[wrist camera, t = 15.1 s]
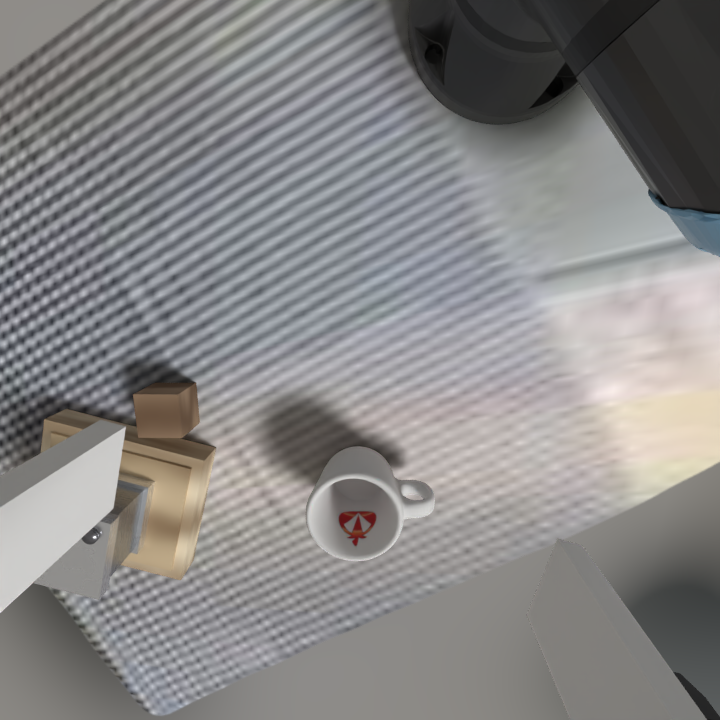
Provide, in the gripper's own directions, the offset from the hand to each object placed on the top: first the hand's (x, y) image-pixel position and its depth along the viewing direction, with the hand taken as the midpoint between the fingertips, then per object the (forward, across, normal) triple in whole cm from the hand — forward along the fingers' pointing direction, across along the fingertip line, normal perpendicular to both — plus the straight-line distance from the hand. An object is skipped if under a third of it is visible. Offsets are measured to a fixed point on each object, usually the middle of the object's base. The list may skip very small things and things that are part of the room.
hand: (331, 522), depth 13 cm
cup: (+29, +4, -12) cm, 32 cm away
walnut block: (+29, -16, -10) cm, 34 cm away
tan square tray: (+29, -19, -20) cm, 40 cm away
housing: (+25, -19, -20) cm, 38 cm away
